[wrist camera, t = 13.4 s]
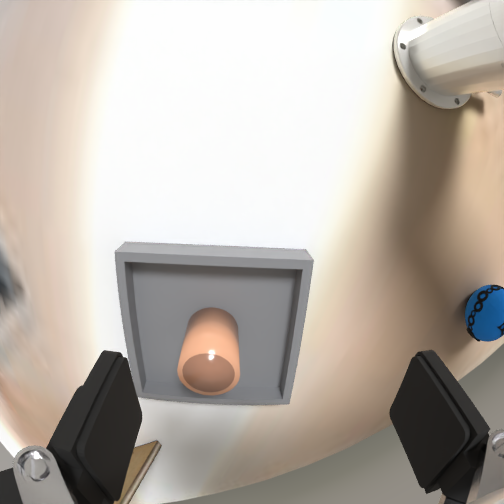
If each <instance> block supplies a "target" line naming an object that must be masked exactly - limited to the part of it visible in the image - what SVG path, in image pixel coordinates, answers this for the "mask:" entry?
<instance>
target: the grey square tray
mask: <svg viewBox="0 0 504 504" xmlns="http://www.w3.org/2000/svg"><path fill="white" fill-rule="evenodd" d="M313 261H314V260H313V259H312V257H311V256H310V254H309V253H308V252H307V250H305V249H284V248H261V247H239V246H216V245H192V244H168V243H143V242H125V243H124V244H122V245H121V246H120V247H119V248H118V249H117V250H116V251H115V262H116V273H117V283H118V292H119V300H120V308H121V315H122V322H123V329H124V335H125V341H126V347H127V353H128V358H129V363H130V368H131V373H132V378H133V383H134V386H135V390H136V394H137V397H141V398H149V399H157V400H167V401H177V402H190V403H205V404H229V405H280V404H289V403H290V398H291V393H292V388H293V383H294V378H295V373H296V368H297V362H298V357H299V351H300V346H301V340H302V334H303V328H304V322H305V316H306V310H307V303H308V297H309V290H310V283H311V276H312V269H313ZM209 307H213V308H219V309H222V310H225V311H227V312H228V313H230V314H231V315H232V316H233V317H234V319H235V320H236V322H237V325H238V335H239V362H240V378H239V381H238V383H237V384H236V386H235V387H234V388H233V389H231V390H230V391H228V392H226V393H223V394H220V395H203V394H199V393H196V392H193V391H192V390H190V389H188V388H187V387H186V386H185V385H184V384H183V383H182V382H181V381H180V379H179V376H178V373H177V368H178V363H179V358H180V354H181V350H182V345H183V341H184V337H185V332H186V328H187V324H188V321H189V319H190V317H191V316H192V315H193V314H194V313H195V312H197V311H198V310H201V309H204V308H209Z"/></svg>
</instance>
